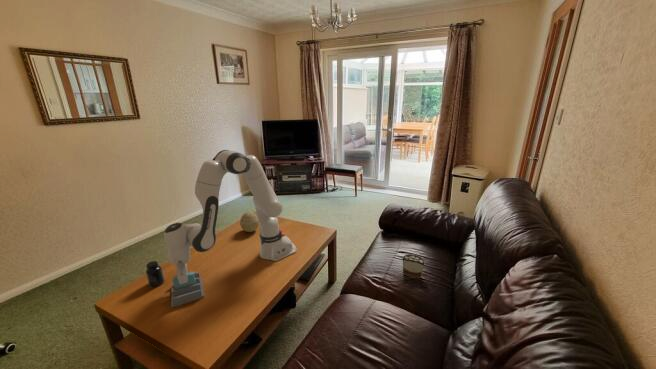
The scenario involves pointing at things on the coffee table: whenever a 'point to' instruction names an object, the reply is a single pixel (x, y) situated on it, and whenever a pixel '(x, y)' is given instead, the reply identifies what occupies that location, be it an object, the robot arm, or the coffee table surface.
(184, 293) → the rack
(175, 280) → the teal upright panel
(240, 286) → the coffee table surface
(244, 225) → the fossilized egg
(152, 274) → the supplement bottle
